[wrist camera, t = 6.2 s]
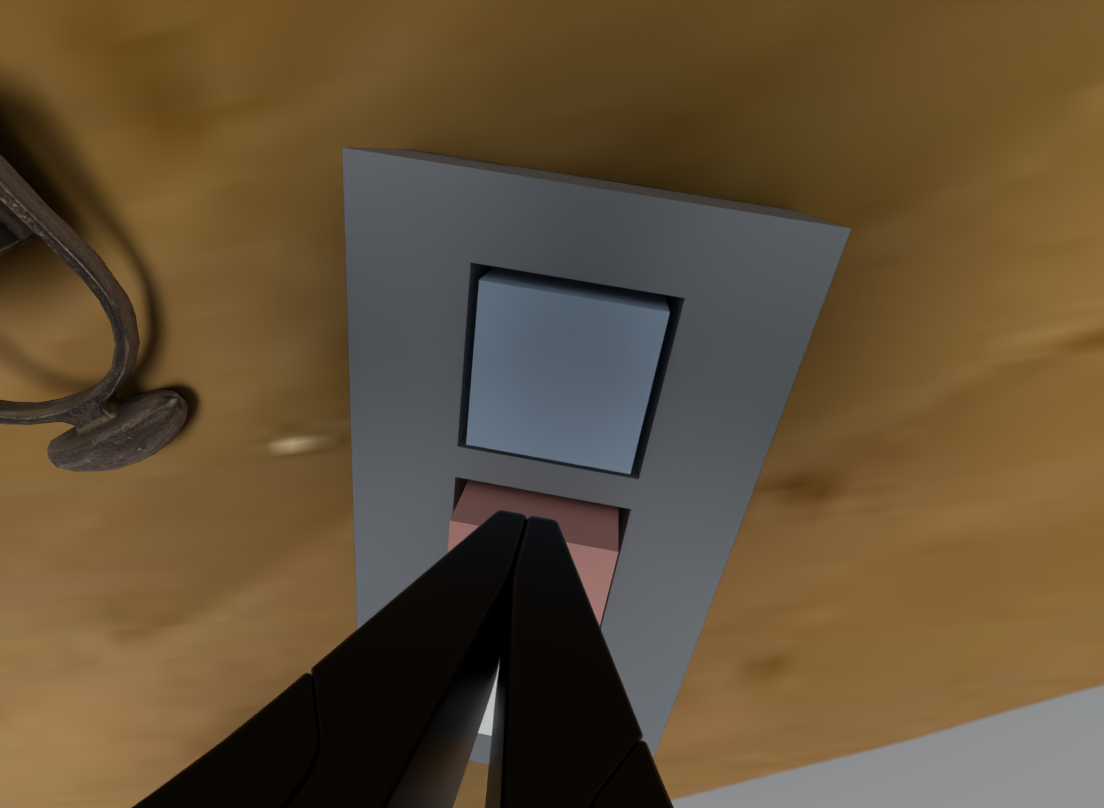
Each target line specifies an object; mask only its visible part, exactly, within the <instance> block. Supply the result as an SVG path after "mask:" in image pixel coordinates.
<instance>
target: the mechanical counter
mask: <svg viewBox="0 0 1104 808" xmlns="http://www.w3.org/2000/svg"><path fill="white" fill-rule="evenodd" d="M39 237H40V238H41V239H42V240H43V241H44V242H45V243H46V244H47V245H48V246H49V247H50V248H51V249H52V250H53V251H54V252H55V253H56V254H57V255H58V256H59V257H60V258H61V259H62V260H63V261H64V262H65V263H66V264H67V265H68V266H69V267H70V268H71V269H72V270H73V271H74V272H75V273H76V274H77V275H78V276H79V277H80V278H81V279H82V280H83V281H84V282H85V283H86V284H87V286H88V287H89V288H90V289H91V291H92V292H93V293H94V294H95V296H96V297H97V298H98V299H99V301H100V303H101V305H102V307H103V309H104V311H105V313H106V315H107V317H108V318H109V320H110V322H111V326H112V331H113V337H114V342H115V348H114V354H113V361H112V367H111V369H110V370H109V372H108V374H107V376H106V377H105V378H104V379H103V380H102V381H101V382H100V383H99V384H97V385H95V386H93V387H91V388H89V389H87V390H85V391H83V392H79V393H76V394H73V395H70V396H67V397H64V398H60V399H56V400H50V401H44V402H37V403H35V402H12V401H5V400H0V424H19V425H32V424H41V423H51V422H65V423H68V424H72V425H74V426H75V427H73V428H71V429H70V430H68V431H66V432H65V433H63V434H62V435H60V436H58V437H57V438H55V439H53V440H52V441H50V444H49V447H48V449H47V450H48V458H49V459H50V460H51V461H52V463H53V464H54V465H55V466H56V467H58V468H62V469H66V470H70V471H74V472H82V471H109V470H115V469H120V468H123V467H125V466H128V465H131V464H134V463H137V462H139V461H141V460H143V459H146V458H148V457H150V456H152V455H154V454H155V453H157V452H158V451H159V450H160V449H162V448H163V447H164V446H166V445H167V444H168V443H170V442H171V441H172V440H173V439H174V437H175V436H176V434H177V433H178V432H179V430H180V429H181V427H182V426H183V424H184V423H185V421H186V416H187V411H188V404H187V403H186V401H185V400H184V399H183V398H182V397H181V396H180V395H179V394H177V393H176V392H174V391H173V390H162V389H160V390H156V391H153V392H149V393H146V394H142V395H139V396H136V397H133V398H126V399H123V398H121V397H120V396H118V395H117V392H116V391H117V390H118V389H119V388H120V386H121V385H122V384H123V383H124V382H125V380H126V379H127V378H128V376H129V375H130V374H131V372H132V370H133V368H134V366H135V363H136V361H137V353H138V348H139V344H140V340H139V334H138V328H137V321H136V315H135V312H134V309H133V306H132V304H131V302H130V300H129V298H128V296H127V294H126V293H125V291H124V290H123V288H122V287H121V286H120V284H119V283H118V281H117V280H116V279H115V277H114V276H113V274H112V273H111V272H110V270H109V269H108V267H107V266H106V264H105V263H104V262H103V260H102V259H101V257H100V256H99V255H98V254H97V253H96V252H95V251H94V250H93V249H92V248H91V247H90V246H89V245H88V244H87V243H86V242H85V241H84V240H83V239H82V238H81V237H80V236H79V235H78V234H77V233H76V232H75V231H74V229H73V228H72V227H70V226H69V225H68V224H67V223H66V222H65V221H64V220H63V219H62V218H61V217H59V216H58V215H57V214H56V213H55V212H54V211H53V210H52V209H51V208H50V207H49V206H48V205H47V204H46V203H45V202H44V201H43V200H42V199H41V198H40V196H39V195H38V194H37V193H36V192H35V191H34V190H33V189H32V188H31V187H30V186H29V185H28V183H27V182H26V181H25V180H24V179H23V178H22V177H21V176H20V175H19V174H18V173H17V171H16V170H15V169H14V168H13V167H12V166H11V165H10V164H9V163H8V162H7V161H6V160H5V159H4V158H3V157H2V156H1V155H0V256H2V255H4V254H6V253H8V252H10V251H12V250H14V249H15V248H17V247H19V246H22V245H24V244H26V243H29V242H31V241H33V240H35V239H37V238H39Z"/></svg>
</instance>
